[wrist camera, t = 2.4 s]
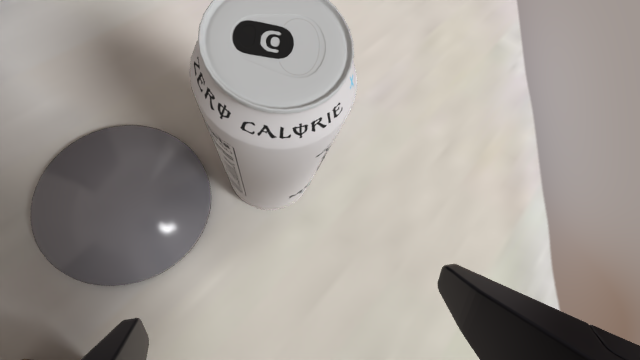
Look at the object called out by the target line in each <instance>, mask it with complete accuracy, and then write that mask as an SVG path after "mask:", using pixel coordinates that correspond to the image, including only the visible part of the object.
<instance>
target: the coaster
mask: <svg viewBox="0 0 640 360" xmlns="http://www.w3.org/2000/svg"><path fill="white" fill-rule="evenodd" d="M210 207H211V190H210V183H209V180H208V176H207V174H206V171H205V169H204V167H203V165H202V164H201V162H200V160H199V159H198V157H197V156H196V155H195V154H194V152H193V151H192V150H191V149H190V148H189V147H188V146H187V145H186V144H185V143H183V142H182V141H180V140H179V139H178V138H176V137H174V136H172V135H170V134H168V133H166V132H164V131H161V130H158V129H154V128H150V127H145V126H131V125H125V126H116V127H111V128H106V129H102V130H99V131H96V132H93V133H91V134H89V135H86V136H84V137H82V138H80V139H79V140H77V141H75V142H74V143H72V144H71V145H69V146H68V147H67V148H65V149H64V150H63V151H62V152H61V153H60V154H58V155H57V156H56V157H55V158H54V159H53V161H52V162H51V163H50V164H49V165H48V167H47V168H46V170H45V171H44V173H43V174H42V176H41V178H40V180H39V182H38V184H37V186H36V189H35V192H34V195H33V198H32V205H31V225H32V231H33V234H34V237H35V240H36V242H37V244H38V246H39V248H40V250H41V252H42V253H43V254H44V256H45V257H46V258H47V260H48V261H49V262H50V263H51V264H52V265H54V266H55V267H56V268H57V269H58V270H60V271H61V272H63V273H64V274H66V275H68V276H70V277H72V278H74V279H76V280H79V281H82V282H85V283H90V284H95V285H106V286H115V285H126V284H131V283H136V282H141V281H144V280H147V279H150V278H152V277H154V276H157V275H159V274H161V273H163V272H164V271H166V270H168V269H169V268H171V267H173V266H174V265H175V264H176V263H178V262H179V261H180V260H181V259H182V258H183V257H184V256H185V255H186V254H187V253H188V252H189V251H190V250H191V249H192V248H193V246H194V245H195V244H196V243H197V241H198V239H199V238H200V236H201V234H202V233H203V230H204V228H205V226H206V224H207V220H208V217H209V213H210Z"/></svg>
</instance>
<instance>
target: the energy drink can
mask: <svg viewBox="0 0 640 360" xmlns="http://www.w3.org/2000/svg"><path fill="white" fill-rule="evenodd" d="M353 57H354V48H353V40H352V36H351V32H350V29H349V27H348V25H347V23H346V21H345V19H344V17H343V16H342V15H341V13H340V12H339V11H338V9H337V8H336V7H335V6H334V5H333V4H332V3H331V2H330V1H329V0H213V1H212V2H211V3H210V5H209V6H208V8H207V9H206V11H205V13H204V14H203V17H202V20H201V23H200V26H199V34H198V41H197V42H196V45H195V48H194V51H193V53H192V56H191V62H190V72H189V73H190V81H191V88H192V91H193V93H194V96H195V99H196V101H197V104H198V106H199V109H200V111H201V113H202V116H203V118H204V120H205V123H206V125H207V128H208V130H209V132H210V135H211V137H212V140H213V142H214V144H215V147H216V149H217V152H218V154H219V156H220V159H221V161H222V163H223V166H224V168H225V171H226V173H227V175H228V178H229V180H230V183H231V185H232V187H233V189H234V191H235V192H236V194H237V195H238V196H239V197H240V198H241V199H242V200H243V201H245V202H246V203H248V204H249V205H251V206H254V207H256V208H259V209H264V210H276V209H281V208H284V207H287V206H289V205H291V204H293V203H294V202H296V201H297V200H298V199H299V198H300V197H301V196H302V195H303V194H304V192H305V191H306V189H307V187H308V186H309V184H310V182H311V180H312V179H313V177H314V175H315V173H316V171H317V170H318V168H319V166H320V164H321V163H322V161H323V159H324V157H325V155H326V154H327V152H328V150H329V148H330V147H331V145H332V143H333V141H334V140H335V138H336V136H337V134H338V132H339V131H340V129H341V127H342V125H343V124H344V122H345V120H346V118H347V116H348V115H349V113H350V111H351V108H352V106H353V103H354V101H355V96H356V90H357V74H356V69H355V65H354V61H353Z"/></svg>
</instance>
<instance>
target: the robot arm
mask: <svg viewBox="0 0 640 360" xmlns="http://www.w3.org/2000/svg"><path fill="white" fill-rule="evenodd" d="M438 289H439V292H440V294H441V296H442V297H443V299H444V301H445V303H446V305H447V307H448V309H449V310H450V312H451V314H452V316H453V318H454V320H455V322H456V323H457V325H458V327H459V329H460V330H461V332H462V334H463V335H464V337H465V338H466V340H467V341H468V343H469V344H470V346H471V347H472V349H473V350H474V351H475V353H476V354H477V356H478V357H479V359H480V360H640V346H639V345H637V344H634V343H632V342H630V341H627V340H625V339H623V338H620V337H618V336H616V335H613V334H611V333H609V332H607V331H604V330H602V329H600V328H598V327H596V326H593V325H588V324H587V323H586V322H584V321H581V320H579V319H577V318H575V317H572V316H570V315H568V314H566V313H564V312H561V311H559V310H557V309H555V308H552V307H550V306H548V305H546V304H544V303H541V302H539V301H537V300H535V299H532V298H530V297H528V296H526V295H523V294H521V293H519V292H517V291H515V290H512V289H510V288H508V287H506V286H503V285H501V284H499V283H497V282H495V281H492V280H490V279H488V278H486V277H483V276H481V275H479V274H477V273H475V272H472V271H470V270H468V269H466V268H463V267H461V266H459V265H457V264H450V265H445V266H443V267H442V270H441V273H440V277H439V280H438ZM148 346H149V338H148V334H147V332H146V330H145V328H144V325H143V323H142V321H141V319H139V318H134V319H128V320H124V321H122V322H121V323H120V324H118V325H117V326H116V327H115V328H114V329H113V330H112V331H111V332H110V333H109V334H108V335H107V336H106V337H105V338H104V339H103V340H101V341H100V342H99V343H98V344H97V345H96V346H95V347H94V348H93V349H92V350H91V351H90V352H89V353H88V354H87V355H86V356H84V357H83V358H82V359H81V360H146V357H147V352H148Z"/></svg>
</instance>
